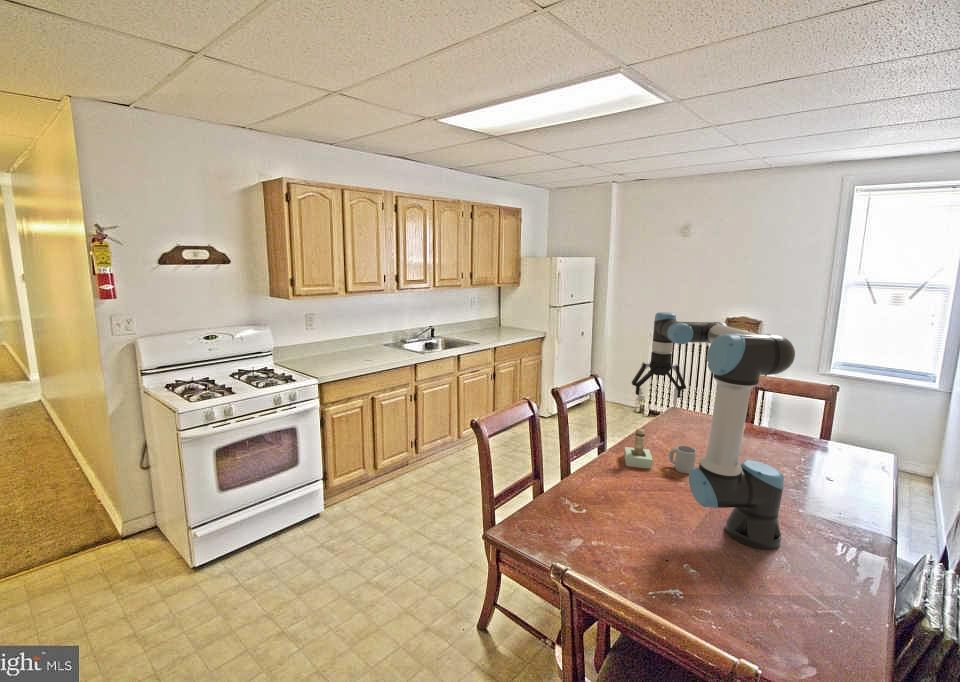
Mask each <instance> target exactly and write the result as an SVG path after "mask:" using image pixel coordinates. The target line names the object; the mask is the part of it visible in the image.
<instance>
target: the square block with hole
mask: <svg viewBox="0 0 960 682" xmlns="http://www.w3.org/2000/svg"><path fill="white" fill-rule="evenodd" d="M623 457H624V461H625V462H624V463H625V466H626V467H631V468H641V469H649V470H652V468H653V461H654V459H653V457H652V453H651V450H650V449H648V448H643V456H634V447H631V446H630V447H627V446H624V452H623Z"/></svg>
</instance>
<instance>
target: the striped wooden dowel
mask: <svg viewBox="0 0 960 682" xmlns="http://www.w3.org/2000/svg"><path fill="white" fill-rule="evenodd" d="M645 437H646V430H645V429H642V428H637V429H635V438H634V447H633V448H634V456H643V449H645V447H644V446H645V439H646V438H645Z"/></svg>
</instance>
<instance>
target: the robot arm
mask: <svg viewBox="0 0 960 682" xmlns="http://www.w3.org/2000/svg"><path fill="white" fill-rule="evenodd" d="M676 316H677V315H676V314H675V313H673V312H669V311H667V312H665V311H661V312H660V311H659V312H656V314H655V315H654V321H653V334H652V344H651V352H650V353H651V356H650V362H649V363H647V362H645V361H644V362H643V361H642V363H641V366H640V369H639V370H637V371H638V372H637V373H636V374H635V376H634V378H633V379H632V381H631V385H632V386H635V395H636V396H637V400H636V401H637V403H638V404H641V403H642V402H641V401H642V400H641V399H642V389H643V387H642V385H643V384H645V382H647V381H648V380H649V379H650V378H651V377H652V376H654V375H655V376H661V377H664V376H667V377H668V379H670V381H671V382H672V383H673V384H672V385H674V387H675V388H674V390H673V391H674V392H673V398H672V399H673V400H672V401H673V402H672V405H673V406H674V407H677V405H678V403H677V402H678V399H681V393H682V390H686V389H687V385H686V384H685V383H686V382H685V381H684V379H683V377H682V376H683V375H682V374H681V371H680V365H679V364H677V363H676V364H672V357H673V350H674V349H673V348H674V343H675V344H676V345H686V344H688V343H707V344H710V345H709V347H708V350H707V354H706V355H707V356H706V362H708V363H707V367H708V370H709V371H710V372H711V373H712V374H713V375H712V378H713V379H714V380H715V381H716V383H717V386H716V393H715V400H714V405H713V410H712V417H711V424H710V431H709V437H708V441H707V442H708V443H707V449H706V454H705V455H704V456H702V457H701V458H700V459H699V464H698V467H694V468H693V469H692V470H690V473H689V474H688V484H689V488H690V489H689V490H690V491H691V495H692V496H693V498H694V500H695V501H696V503H697V504H698V505H700V506H701V507H702V508H713V509H717V508H718V509H721V508H733V509H732V510H731V512H730V514H729V516H728V517H727V519H726V523H725V530H726V532H727V534H728V535H729V536H730V537H732V538H733V539H734V540H736V541H737V542H739V543H741V544H743V545H746V546H747V547H751V548H754V549H758V550H759V549H761V550H773V549H777V548H779V546H781V542H782V541H781V540H782V533H781V528H780V523H779V519H778V518H779V512H780V506H781V501H782V496H783V490H784V489H785V488H784V484H785V483H784V481H785V479H784V478H785V477H784V476H783V474H782V472H781V471H779V470H778V469H777V468H775V467H773V466H772V465H769V464H766V463H763V462H761V461H756V460H751V459H747V460H743V461H742V462H741V463H740V464H739V457H740V452H741V445H742V442H743V435H744V430H745V424H746V418H747V413H748V407H749V403H750V402H749V401H750V395H751V391H752V389H753V388H755V387H756V386H758V385H759V381H760V376H773V375H778V374H780V373H783V372H784V371H787V370H788V369H789V368H790V367H791V366H792V364H794V361H795V358H796V350H795V347H794V345H793V343H792V342H791V341H790V340H789V339H787V337H784V336H783V335H778V334H772V333H763V334H762V333H761V334H760V333H759V334H757V333H755V332H751V331H747V330H743V329H739V328H735V327H731V326H728V325H727V323H725V322H721V321H712V322H709V321H706V322H705V321H704V322H701V321H700V322H699V321H677V317H676ZM648 368H649V370H648V372H647V373H646V374H645V375H643V374H644V372H645V370H646V369H648ZM671 370H673V371H674V372H675V374H676V377H677V379H678V381H679V384H678V383H677V381H676V379H675V378H674V377H673V376H672V374H671V373H670V372H671ZM641 377H642V378H641Z"/></svg>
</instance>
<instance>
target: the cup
mask: <svg viewBox="0 0 960 682" xmlns="http://www.w3.org/2000/svg"><path fill="white" fill-rule="evenodd" d="M675 453H676V454H675ZM674 454H675V459H674ZM696 457H697V449H695V448H693V447H691V446H689V445H688V446H687V445H678V446H676V448H672V449H671V450H670V451H669V452H668V458H669V461H670V463H671V464H672V465H674V469H675V470H676V471H677V472H678V473H681V474H685V475H686V474H687V475H689V473H690V470H692V469H693V468H695V465H696Z"/></svg>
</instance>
